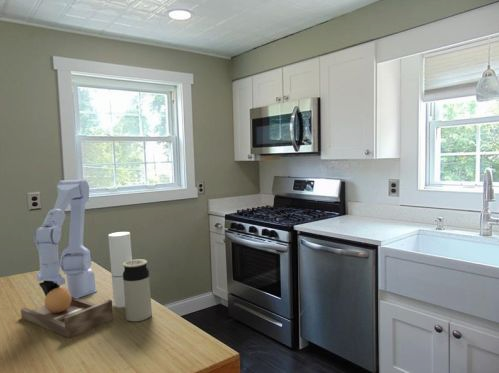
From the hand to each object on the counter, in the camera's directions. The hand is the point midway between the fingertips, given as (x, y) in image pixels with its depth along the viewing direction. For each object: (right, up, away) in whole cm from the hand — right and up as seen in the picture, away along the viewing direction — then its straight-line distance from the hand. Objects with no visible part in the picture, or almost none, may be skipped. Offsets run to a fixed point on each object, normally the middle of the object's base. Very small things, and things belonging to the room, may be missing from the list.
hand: (52, 302), depth 127 cm
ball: (+3, +1, -2) cm, 4 cm away
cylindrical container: (+22, -3, +7) cm, 23 cm away
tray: (+6, -4, -3) cm, 8 cm away
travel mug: (+31, -3, -5) cm, 31 cm away
